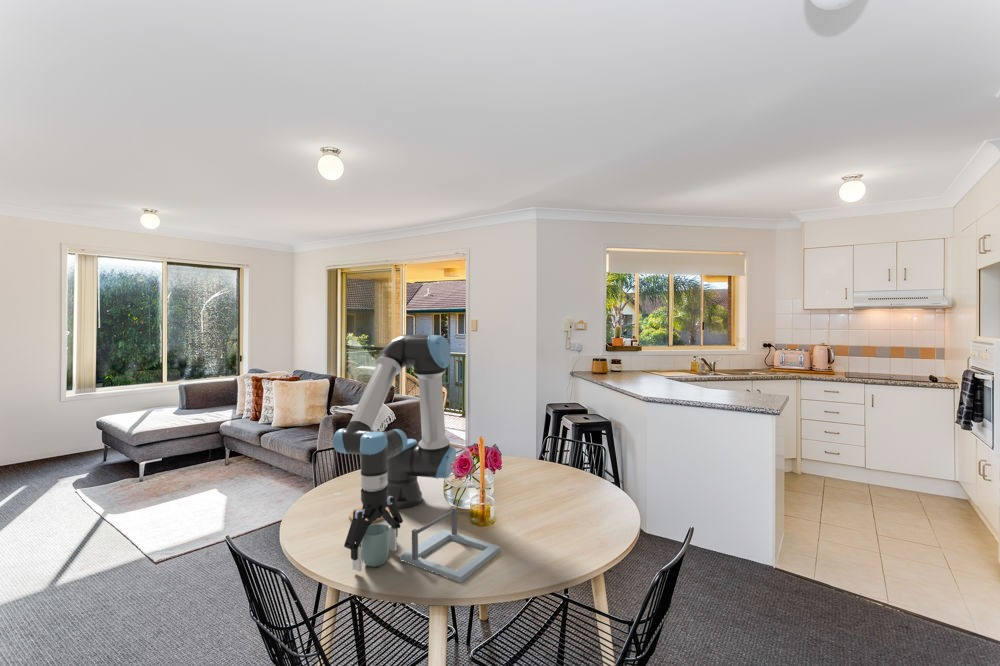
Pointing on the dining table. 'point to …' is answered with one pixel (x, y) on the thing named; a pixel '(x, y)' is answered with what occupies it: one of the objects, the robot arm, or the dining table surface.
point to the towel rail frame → (440, 538)
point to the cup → (375, 545)
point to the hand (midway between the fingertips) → (375, 559)
